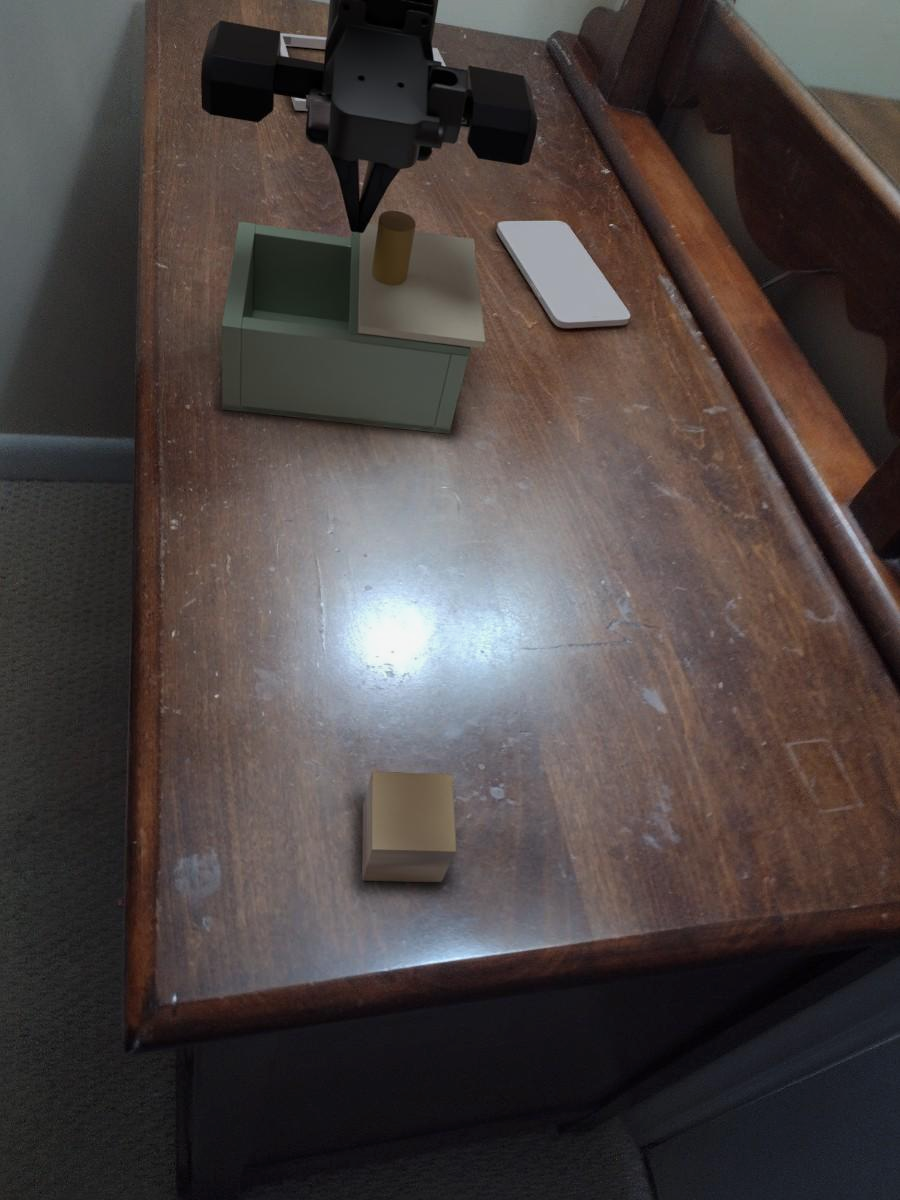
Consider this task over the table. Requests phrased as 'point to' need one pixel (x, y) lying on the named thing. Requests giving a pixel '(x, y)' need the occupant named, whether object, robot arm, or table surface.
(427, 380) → the storage box
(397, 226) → the slide door
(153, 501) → the table surface
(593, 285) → the smartphone
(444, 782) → the maple block
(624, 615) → the table surface
